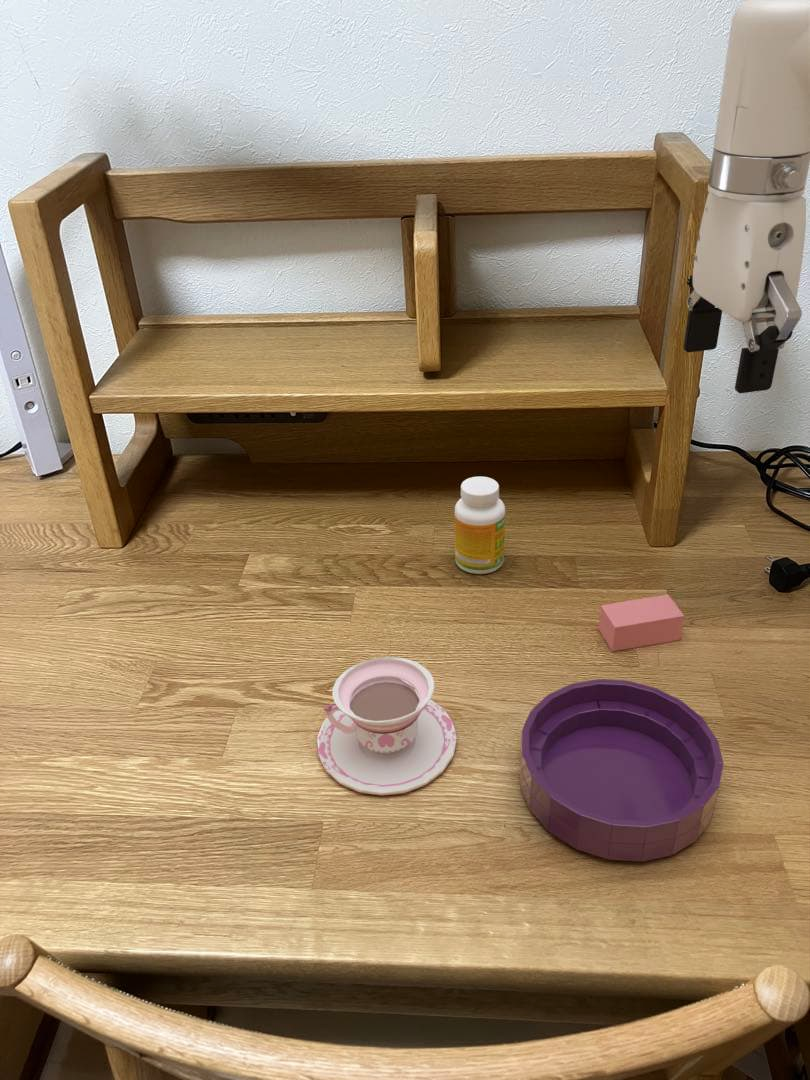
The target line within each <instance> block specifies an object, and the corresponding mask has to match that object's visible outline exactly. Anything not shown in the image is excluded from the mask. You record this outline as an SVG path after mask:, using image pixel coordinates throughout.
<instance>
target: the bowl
mask: <svg viewBox="0 0 810 1080" xmlns="http://www.w3.org/2000/svg"><path fill="white" fill-rule="evenodd" d="M520 736H521V737H520V738H521V739H520V756H519V757H520V760H519V761H520V762H519V786H520V789H521V792H522V794H523V796H524V799H525V802H526V804H527V807H528V809H529V811H530V812H531V813H532V814H533V815H534V817H536V818H537V820H538V821H539V823H540V824H541V825H542V826H543V827H544V828H545V829H546V830H547V832H549V833H550V834H552V835H554V836H555V837H557V838H558V839H560V840H561V841H563V842H564V843H566V844H567V845H569V846H571V847H572V848H574V849H576V850H578V851H580V852H584V853H587V854H589V855H593V856H595V857H600V858H603V859H604V860H610V861H626V862H627V861H628V862H647V861H651V860H655V859H661V858H664V857H665V858H666V857H670V856H673V855H675V854H677V853H678V852H680V851H682V850H683V849H685V848H687V847H688V846H690V845H691V844H693V843H695V842H696V841H698V839H699V838H700V836H702V834H703V833H704V831H705V830H706V828H707V827H708V826H709V824H710V823H711V821H712V819H713V815H714V811H715V806H716V802H717V799H718V794H719V789H720V784H721V780H722V775H723V769H724V759H723V755H722V751H721V747H720V743H719V740H718V738H717V737H716V735H715V734H714V732H713V730H712V729H711V728H710V726H709V725H708V723H707V722H706V721H705V719H704V717H702V716H701V715H700V714H698V713H697V712H696V711H695V710H694V709H692V708H691V707H690V706H688V704H686V703H685V702H684V701H683V700H681V699H679V698H677V697H675V696H673V695H671V694H669V693H667V692H665V691H663V690H661V689H659V688H657V687H654V686H649V685H646V684H642V683H638V682H633V681H630V680H625V679H624V680H622V679H601V678H600V679H599V678H597V679H591V680H585V681H581V682H580V681H579V682H574V683H571V684H568V685H566V686H563V687H561V688H559V689H557V690H555V691H552V692H550V693H548V694H547V695H545V696H544V698H543V699H541V700H540V701H539V702H538V703H537V704H536V705H534V707H532V709H531V710H530V711H529V714H528V716H527V718H526V720H525V723H524V725H523V727H522V728H521V735H520Z"/></svg>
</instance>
